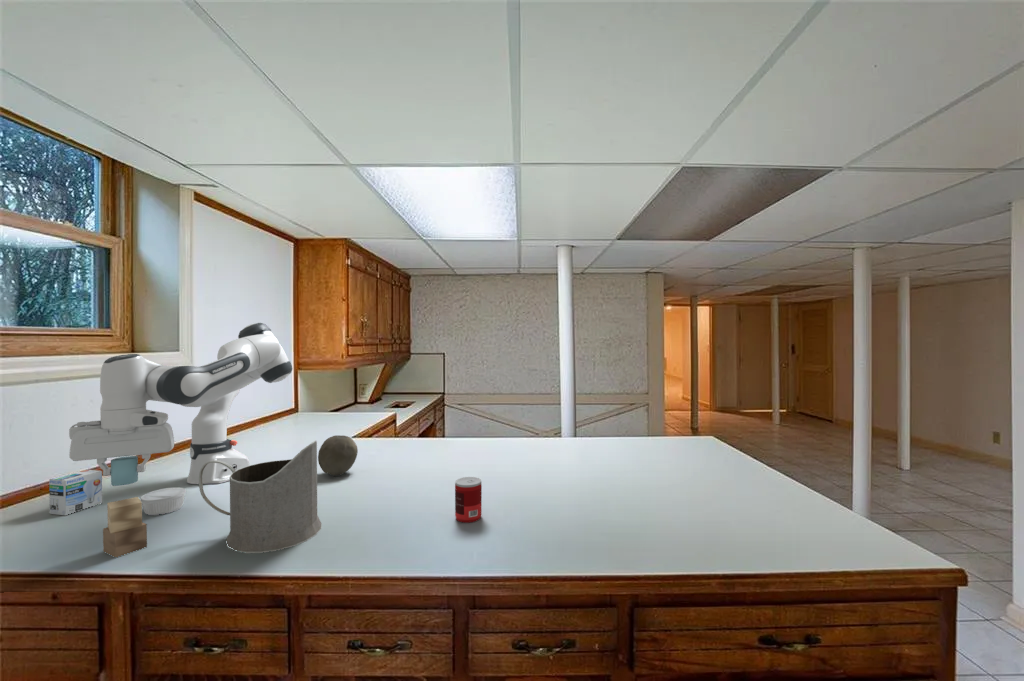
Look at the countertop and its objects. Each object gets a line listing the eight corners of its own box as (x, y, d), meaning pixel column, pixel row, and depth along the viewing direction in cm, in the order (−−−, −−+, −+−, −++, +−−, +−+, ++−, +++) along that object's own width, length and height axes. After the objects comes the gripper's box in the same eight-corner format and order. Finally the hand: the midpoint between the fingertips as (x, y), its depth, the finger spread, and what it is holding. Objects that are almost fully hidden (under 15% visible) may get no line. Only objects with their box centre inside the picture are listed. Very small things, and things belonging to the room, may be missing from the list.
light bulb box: (65, 516, 138) (65, 480, 138) (48, 514, 139) (47, 479, 139) (103, 503, 148) (103, 470, 148) (87, 501, 150) (86, 468, 150)
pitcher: (301, 552, 115) (300, 452, 115) (170, 555, 114) (169, 454, 113) (333, 515, 138) (332, 432, 138) (224, 517, 137) (224, 433, 136)
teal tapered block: (130, 478, 120) (129, 455, 119) (142, 480, 118) (142, 457, 118) (106, 484, 115) (105, 460, 115) (119, 486, 113) (118, 462, 113)
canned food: (485, 514, 139) (485, 478, 139) (474, 524, 131) (474, 486, 131) (462, 511, 141) (462, 475, 141) (450, 521, 134) (450, 483, 134)
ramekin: (136, 519, 135) (136, 502, 135) (145, 507, 145) (145, 490, 145) (182, 513, 141) (182, 495, 140) (188, 501, 150) (188, 485, 150)
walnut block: (134, 541, 121) (134, 519, 121) (146, 547, 118) (146, 524, 118) (103, 552, 115) (103, 528, 115) (115, 558, 112) (115, 533, 112)
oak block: (138, 519, 121) (137, 496, 121) (142, 526, 117) (141, 502, 116) (107, 526, 116) (107, 502, 116) (110, 533, 112) (110, 509, 112)
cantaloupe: (349, 480, 172) (349, 440, 171) (311, 480, 172) (311, 440, 171) (362, 469, 186) (362, 432, 185) (327, 469, 186) (327, 432, 186)
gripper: (63, 425, 108) (64, 483, 109) (170, 417, 118) (171, 471, 118) (74, 420, 114) (75, 476, 114) (175, 413, 123) (175, 464, 124)
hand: (124, 473), depth 116 cm, fingers closed on teal tapered block, 5 cm apart
